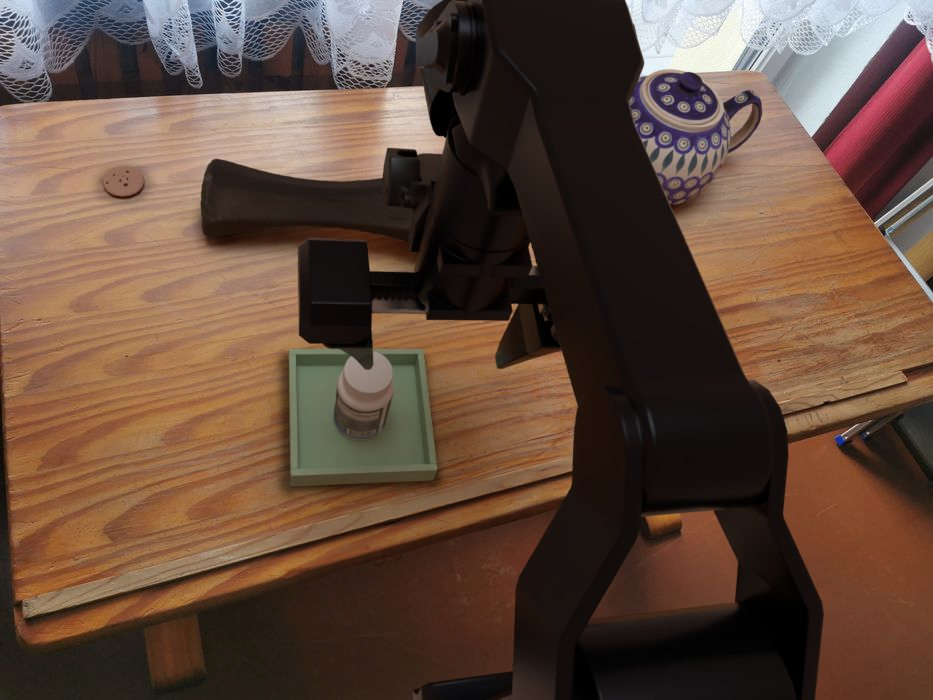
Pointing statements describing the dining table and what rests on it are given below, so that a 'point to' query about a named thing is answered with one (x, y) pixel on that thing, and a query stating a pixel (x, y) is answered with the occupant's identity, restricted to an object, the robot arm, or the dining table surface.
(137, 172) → the cookie
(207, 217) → the dark brown bone
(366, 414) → the pill bottle
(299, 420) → the tray
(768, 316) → the dining table surface
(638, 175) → the robot arm
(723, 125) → the teapot
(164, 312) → the dining table surface
